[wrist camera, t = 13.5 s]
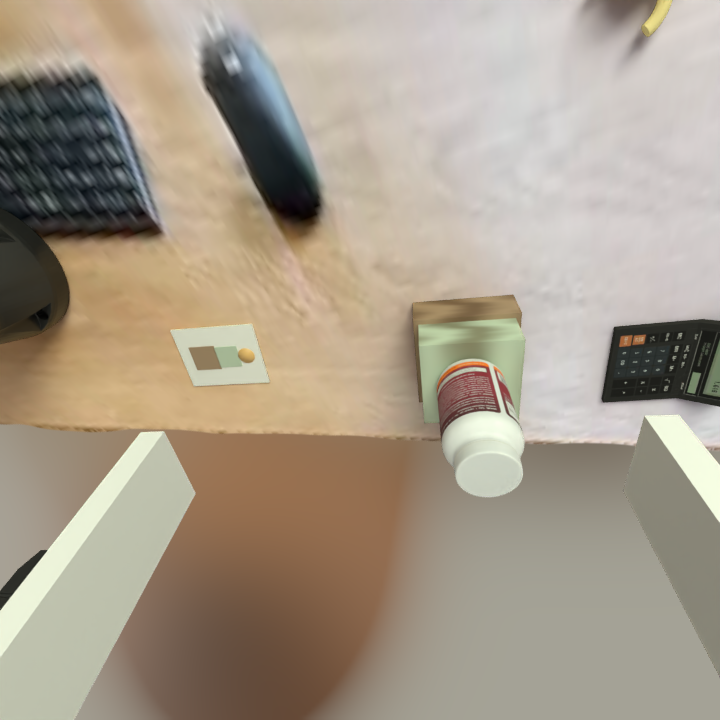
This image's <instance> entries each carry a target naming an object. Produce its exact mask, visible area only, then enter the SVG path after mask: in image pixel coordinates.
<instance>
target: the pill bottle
mask: <svg viewBox="0 0 720 720" xmlns="http://www.w3.org/2000/svg"><path fill="white" fill-rule="evenodd" d="M437 400H438V411H439V421H440V432H441V443H442V450H443V454H444V456H445V458H446V459H447V461H448V462H449V463H450V464H451V465H452V466H453V467H454V472H455V478H456V481H457V483H458V485H459V486H460V487H461V488H462V489H463V490H464V491H466V492H467V493H469V494H472V495H475V496H480V497H497V496H501V495H504V494H506V493H509V492H510V491H512V490H513V489H515V488H516V487H517V486H518V485H519V483H520V482H521V480H522V477H523V469H522V464H521V460H520V457H521V455H522V453H523V450H524V436H523V433H522V429H521V426H520V423H519V420H518V417H517V414H516V411H515V408H514V405H513V402H512V399H511V396H510V392H509V389H508V386H507V383H506V380H505V378H504V376H503V374H502V372H501V371H500V369H499V368H498V367H496V366H495V365H494V364H492V363H490V362H488V361H485V360H481V359H464V360H460V361H457V362H455V363H453V364H451V365H450V366H448V367H447V368H446V369H445V370H444V371H443V372H442V374H441V375H440V377H439V379H438V382H437Z"/></svg>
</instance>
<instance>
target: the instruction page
mask: <svg viewBox="0 0 720 720" xmlns="http://www.w3.org/2000/svg"><path fill="white" fill-rule="evenodd" d="M170 331H171V333H172V336H173V338H174V340H175V343H176V345H177V347H178V350H179V352H180V354H181V357H182V359H183V361H184V364H185V366H186V368H187V371H188V373H189V376H190V378H191V380H192V383H193V385H194V386H208V385H228V384H248V383H267V382H270V380H269V376H268V373H267V370H266V367H265V363H264V360H263V357H262V353H261V350H260V347H259V344H258V340H257V337H256V334H255V331H254V327H253V324H240V325H227V326H214V327H201V328H187V329H174V330H170Z"/></svg>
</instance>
